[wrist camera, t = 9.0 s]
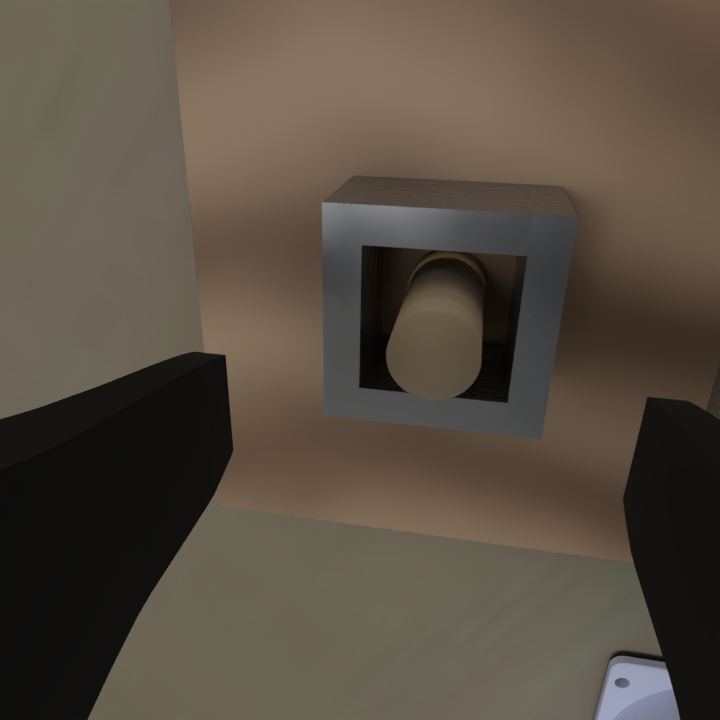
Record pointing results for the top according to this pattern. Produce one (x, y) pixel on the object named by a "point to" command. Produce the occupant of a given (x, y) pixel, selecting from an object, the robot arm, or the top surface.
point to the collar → (447, 233)
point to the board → (451, 268)
